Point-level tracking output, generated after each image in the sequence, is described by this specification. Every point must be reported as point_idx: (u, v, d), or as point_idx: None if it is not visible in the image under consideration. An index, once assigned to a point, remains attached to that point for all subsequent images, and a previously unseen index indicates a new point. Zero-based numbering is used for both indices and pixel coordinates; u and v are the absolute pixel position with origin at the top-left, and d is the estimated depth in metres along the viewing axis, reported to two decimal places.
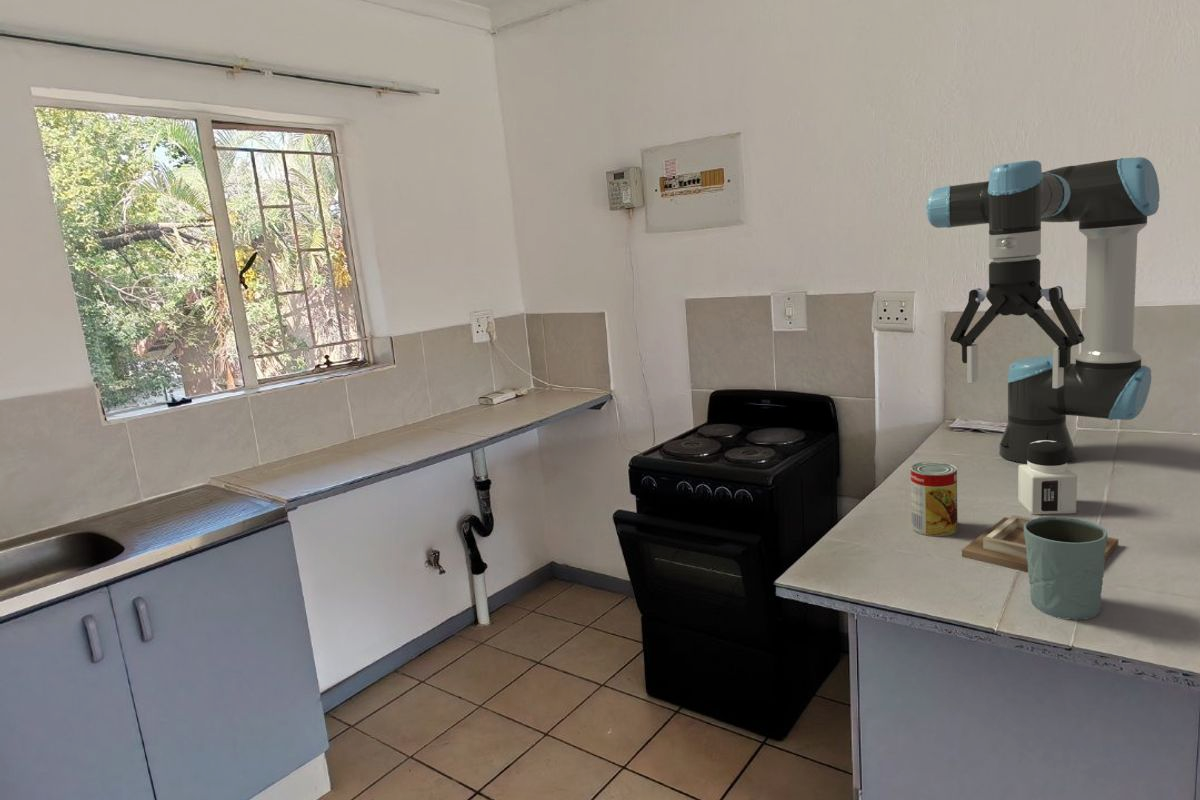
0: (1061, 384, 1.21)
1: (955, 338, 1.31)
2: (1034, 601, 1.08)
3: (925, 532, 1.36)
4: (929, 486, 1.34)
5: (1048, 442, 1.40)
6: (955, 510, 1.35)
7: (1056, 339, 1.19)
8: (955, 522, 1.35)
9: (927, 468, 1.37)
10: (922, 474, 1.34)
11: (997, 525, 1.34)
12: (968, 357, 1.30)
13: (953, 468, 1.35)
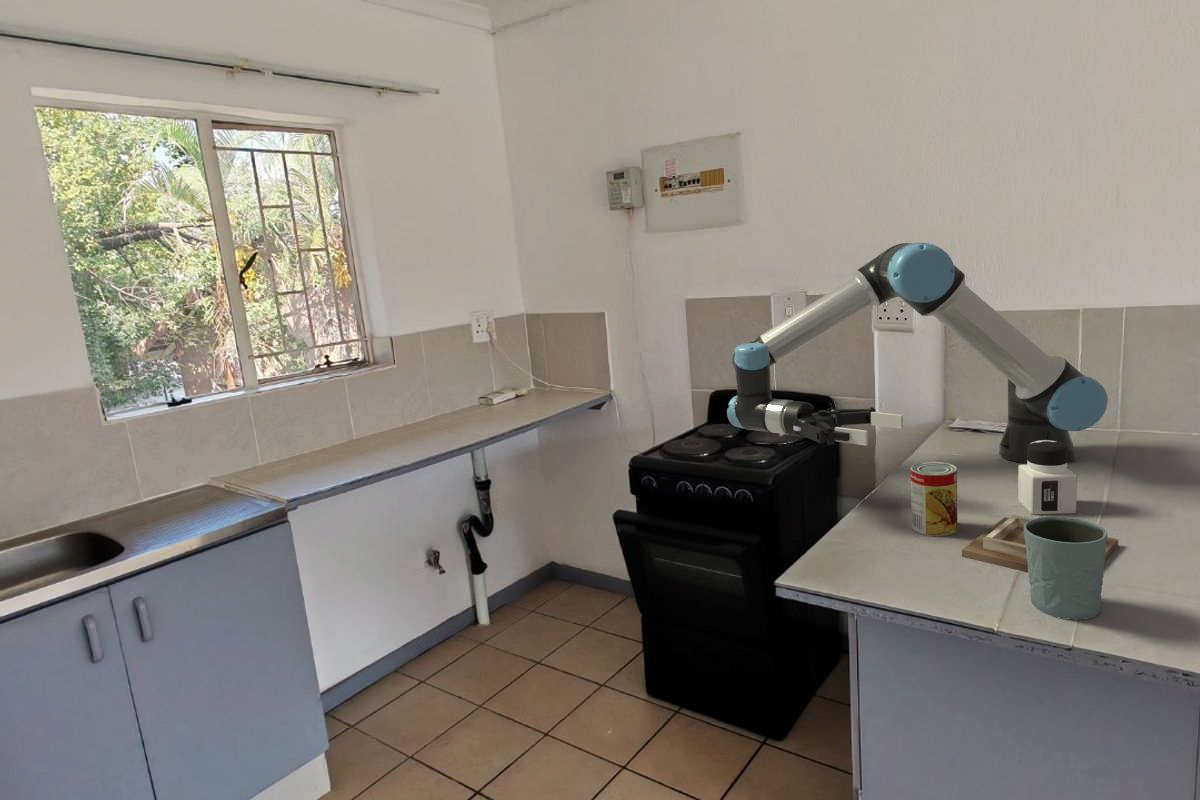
0: (864, 436, 1.38)
1: None
2: (1034, 601, 1.08)
3: (925, 532, 1.36)
4: (929, 486, 1.34)
5: (1048, 442, 1.40)
6: (955, 510, 1.35)
7: None
8: (955, 522, 1.35)
9: (927, 468, 1.37)
10: (922, 474, 1.34)
11: (997, 525, 1.34)
12: (881, 425, 1.50)
13: (953, 468, 1.35)
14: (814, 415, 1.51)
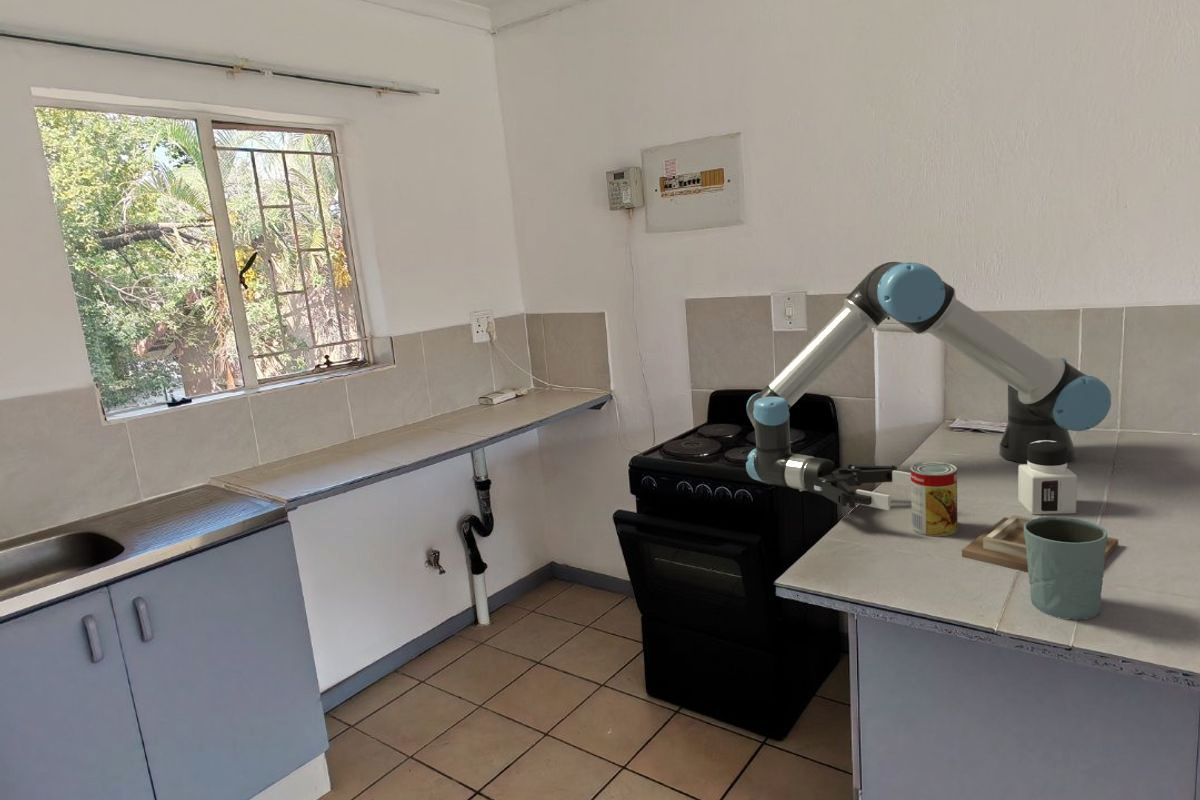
0: (886, 500, 1.37)
1: None
2: (1034, 601, 1.08)
3: (925, 532, 1.36)
4: (929, 486, 1.34)
5: (1048, 442, 1.40)
6: (955, 510, 1.35)
7: None
8: (955, 522, 1.35)
9: (927, 468, 1.37)
10: (922, 474, 1.34)
11: (997, 525, 1.34)
12: None
13: (953, 468, 1.35)
14: (835, 474, 1.50)
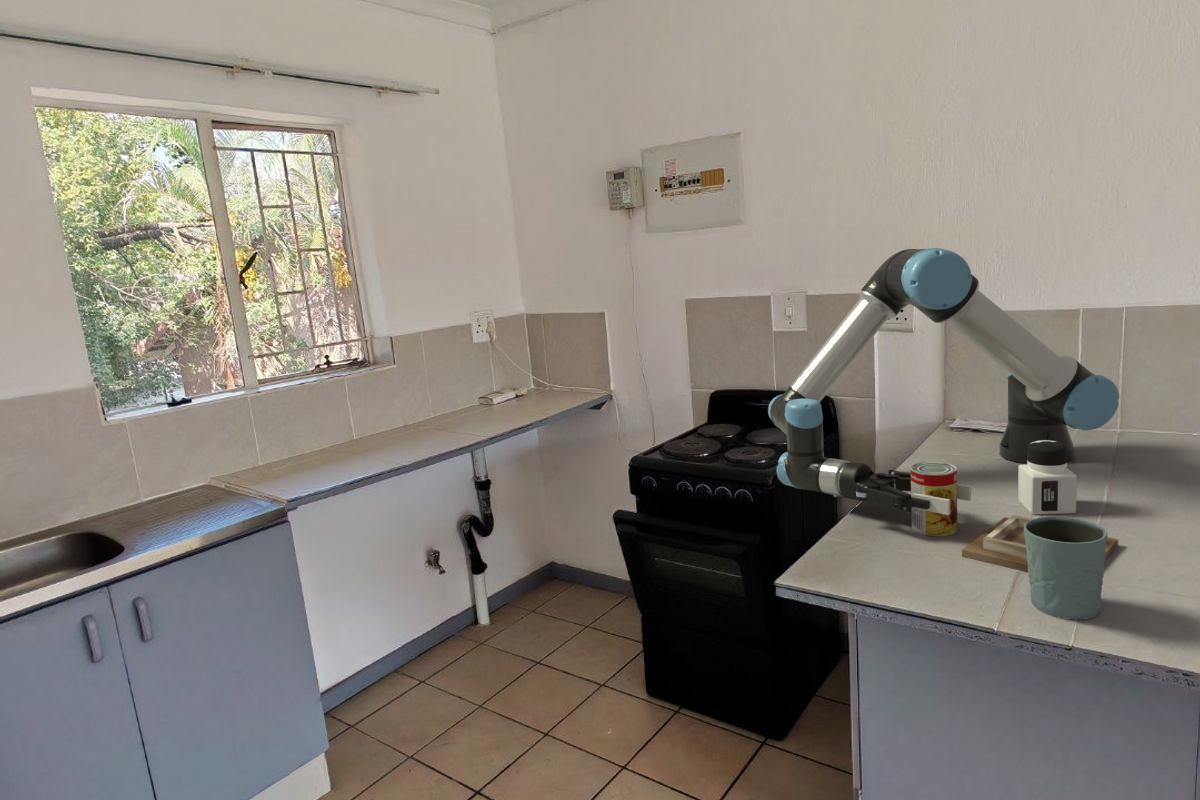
0: (946, 505, 1.31)
1: None
2: (1034, 601, 1.08)
3: (925, 532, 1.36)
4: (929, 485, 1.34)
5: (1048, 442, 1.40)
6: (955, 510, 1.35)
7: None
8: (955, 522, 1.35)
9: (927, 468, 1.37)
10: (922, 474, 1.34)
11: (997, 525, 1.34)
12: None
13: (953, 468, 1.35)
14: (875, 479, 1.44)
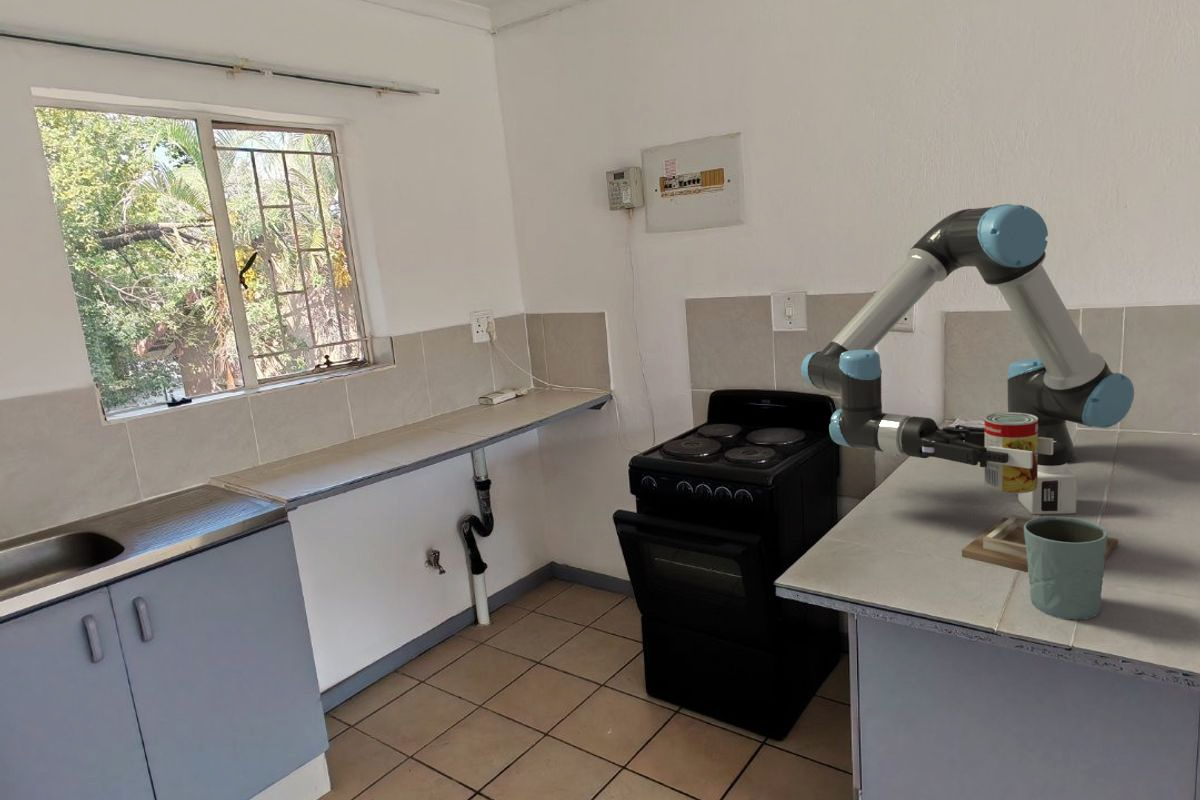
0: (1028, 457, 1.18)
1: None
2: (1034, 601, 1.08)
3: (1001, 489, 1.23)
4: (1007, 437, 1.21)
5: None
6: (1035, 464, 1.22)
7: None
8: (1035, 478, 1.22)
9: (1003, 418, 1.24)
10: (999, 424, 1.21)
11: (997, 525, 1.34)
12: None
13: (1033, 418, 1.22)
14: (942, 433, 1.31)
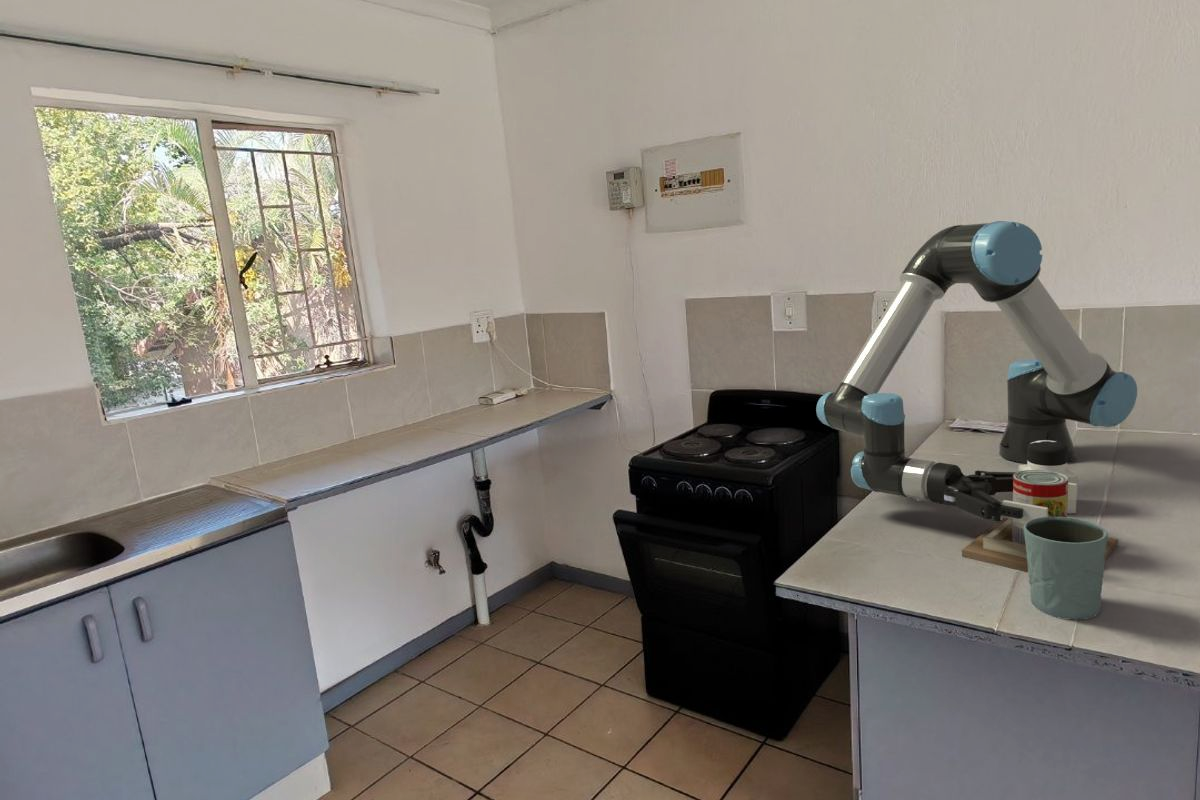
0: (1044, 514, 1.16)
1: None
2: (1034, 601, 1.08)
3: None
4: (1037, 496, 1.20)
5: (1048, 442, 1.40)
6: None
7: None
8: None
9: (1033, 477, 1.23)
10: (1030, 483, 1.20)
11: (997, 525, 1.34)
12: None
13: (1063, 477, 1.22)
14: (967, 482, 1.30)
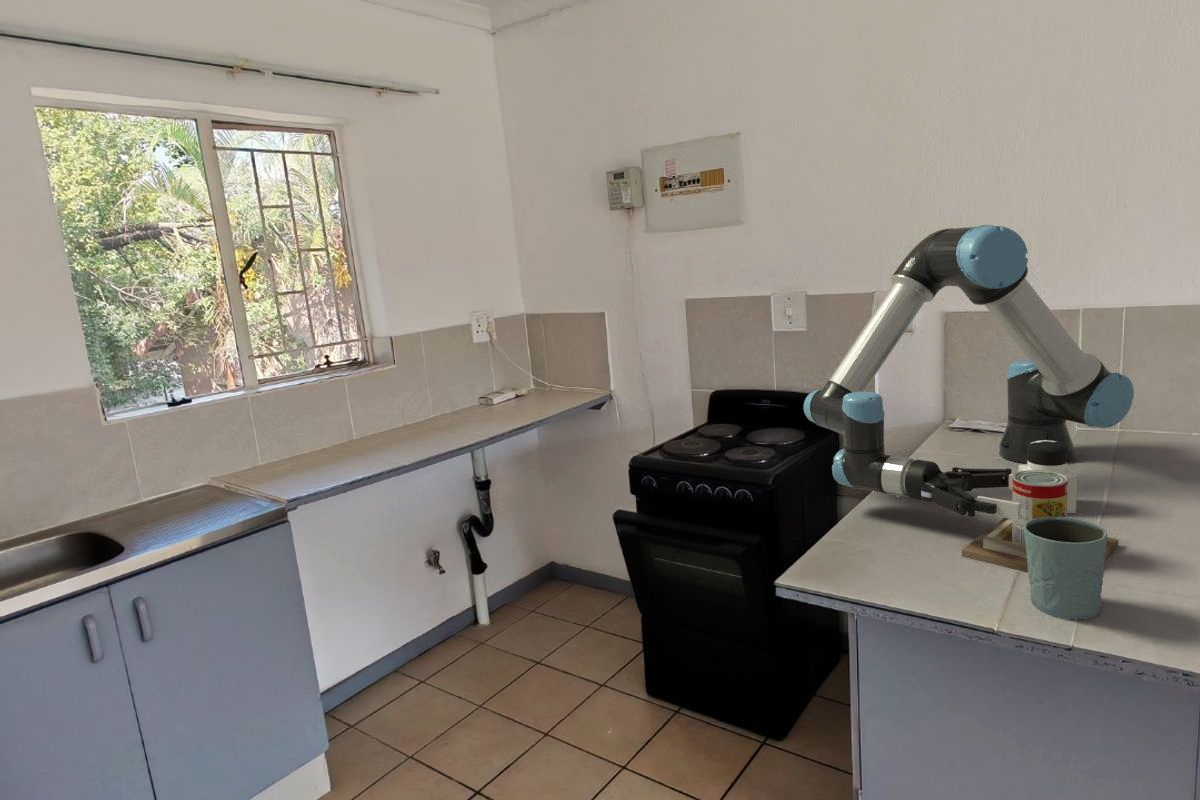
0: (1016, 509, 1.19)
1: None
2: (1034, 601, 1.08)
3: None
4: (1037, 498, 1.20)
5: (1048, 442, 1.40)
6: None
7: None
8: None
9: (1032, 478, 1.23)
10: (1029, 485, 1.20)
11: (997, 525, 1.34)
12: None
13: (1062, 478, 1.21)
14: (944, 478, 1.33)
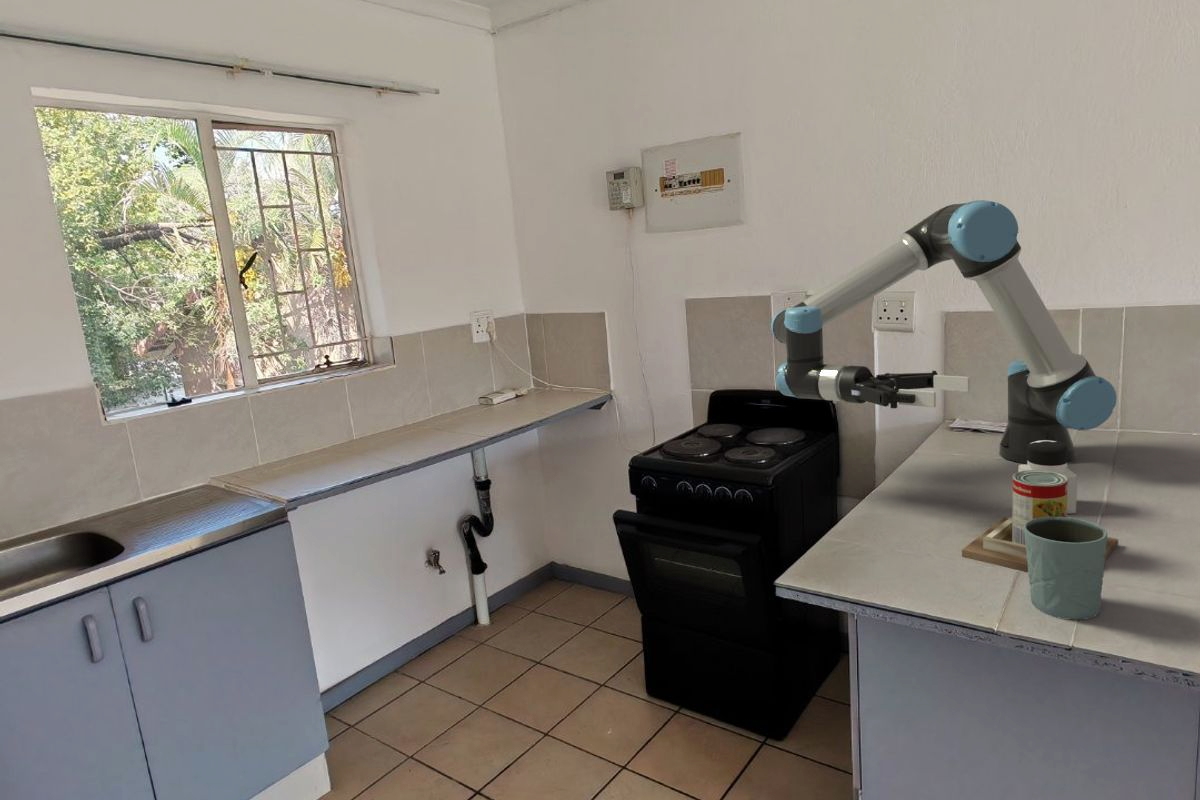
0: (932, 397, 1.29)
1: None
2: (1034, 601, 1.08)
3: None
4: (1037, 497, 1.20)
5: (1048, 442, 1.40)
6: None
7: None
8: None
9: (1032, 478, 1.23)
10: (1029, 485, 1.20)
11: (997, 525, 1.34)
12: (944, 389, 1.42)
13: (1062, 478, 1.22)
14: (873, 379, 1.43)
